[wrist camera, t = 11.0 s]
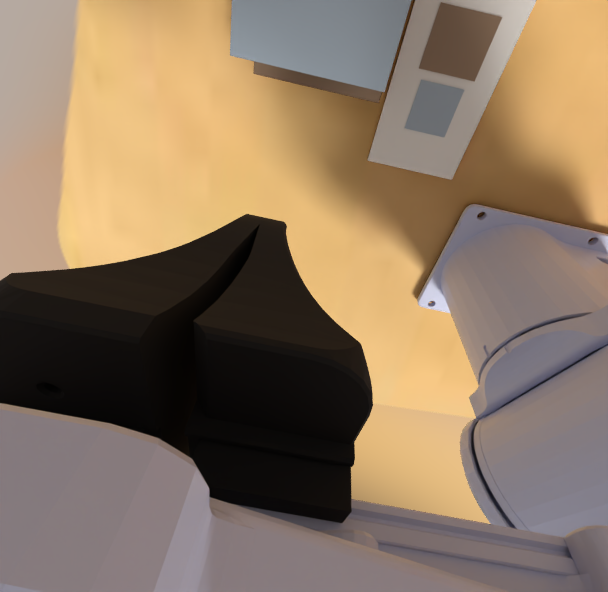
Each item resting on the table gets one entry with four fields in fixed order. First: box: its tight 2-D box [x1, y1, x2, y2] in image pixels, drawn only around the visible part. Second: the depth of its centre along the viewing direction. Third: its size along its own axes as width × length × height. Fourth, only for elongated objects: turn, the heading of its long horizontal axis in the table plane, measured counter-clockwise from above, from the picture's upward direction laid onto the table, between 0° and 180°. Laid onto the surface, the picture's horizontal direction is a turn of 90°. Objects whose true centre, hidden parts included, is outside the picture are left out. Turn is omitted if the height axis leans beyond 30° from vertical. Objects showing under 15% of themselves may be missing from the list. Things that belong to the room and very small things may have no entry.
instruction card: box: [368, 0, 536, 180], centre depth 16 cm, size 5×8×1 cm, turn 169°
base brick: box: [254, 61, 382, 103], centre depth 14 cm, size 6×6×2 cm
